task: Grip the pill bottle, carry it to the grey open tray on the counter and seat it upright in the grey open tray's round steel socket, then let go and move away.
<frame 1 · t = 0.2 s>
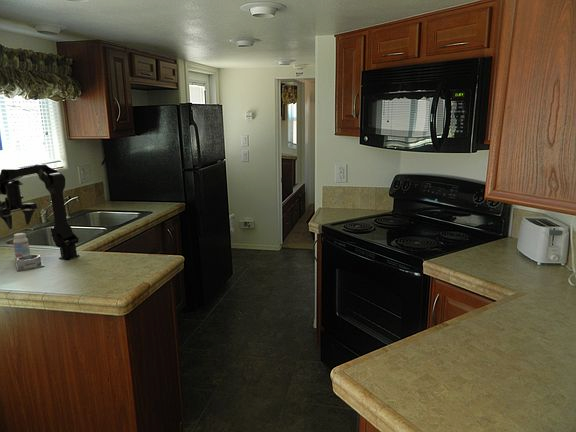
hand: (19, 226, 205), 14 cm above the countertop, tool pointing down, fingers open, 9 cm apart
grey open tray: (29, 265, 191), on the countertop
pill bottle: (23, 256, 205), on the countertop
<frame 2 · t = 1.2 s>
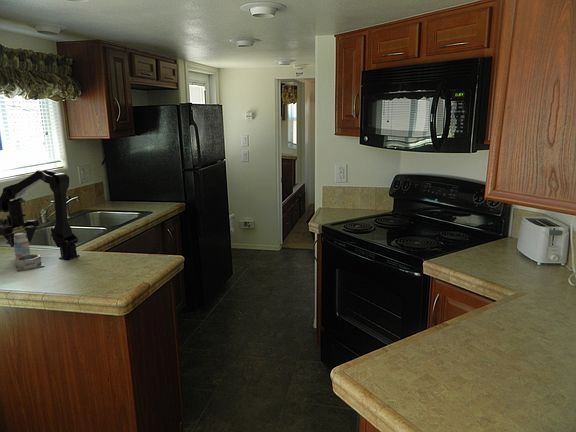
hand: (21, 244, 203), 6 cm above the countertop, tool pointing down, fingers open, 9 cm apart
nothing on the countertop moved.
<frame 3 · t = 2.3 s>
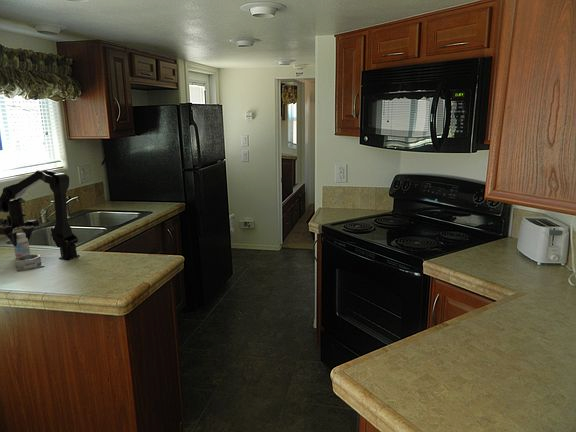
hand: (21, 244, 203), 6 cm above the countertop, tool pointing down, fingers closed on pill bottle, 6 cm apart
pill bottle: (23, 256, 205), on the countertop, touching gripper
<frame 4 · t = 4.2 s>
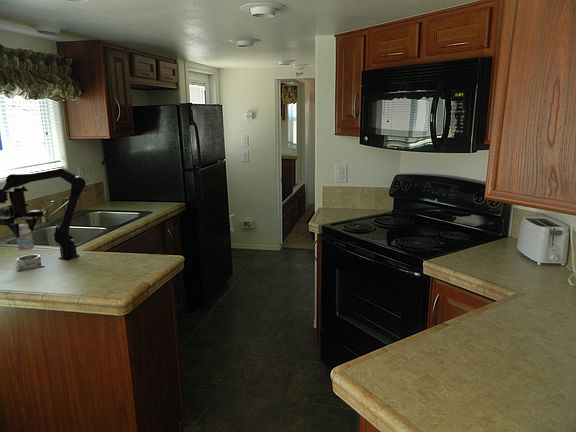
hand: (24, 236, 191), 13 cm above the countertop, tool pointing down, fingers closed on pill bottle, 6 cm apart
pill bottle: (26, 249, 193), point 6 cm above the countertop, touching gripper
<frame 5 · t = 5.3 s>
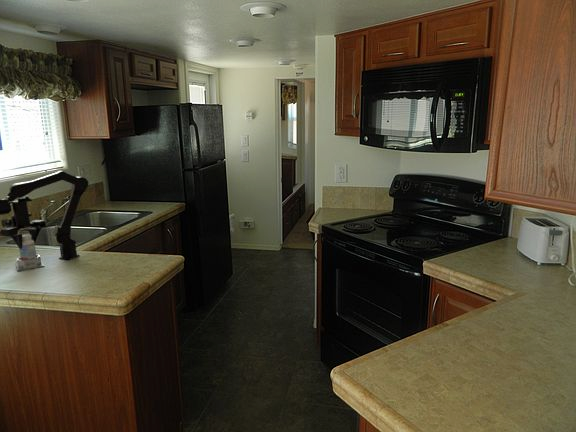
hand: (27, 246, 190), 9 cm above the countertop, tool pointing down, fingers closed on pill bottle, 6 cm apart
pill bottle: (29, 260, 191), point 2 cm above the countertop, touching gripper
when the fingers open (8 cm above the countertop, at t = 6.1 s): pill bottle drops 2 cm, resting on grey open tray.
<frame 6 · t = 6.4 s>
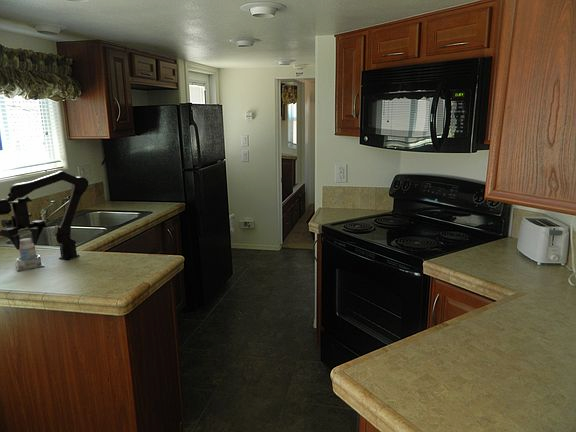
hand: (26, 246, 190), 8 cm above the countertop, tool pointing down, fingers open, 8 cm apart
pill bottle: (30, 263, 191), resting on grey open tray
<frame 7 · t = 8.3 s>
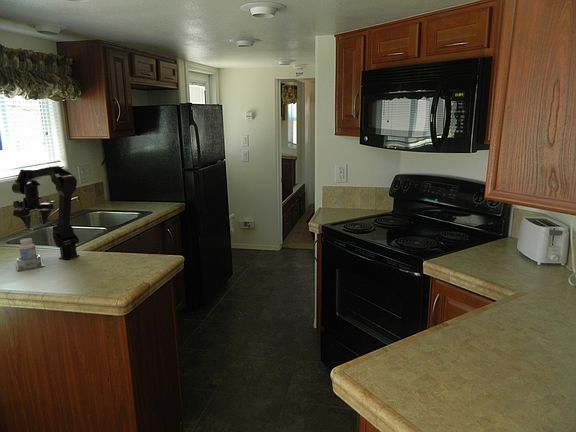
hand: (36, 226, 207), 13 cm above the countertop, tool pointing down, fingers open, 9 cm apart
nothing on the countertop moved.
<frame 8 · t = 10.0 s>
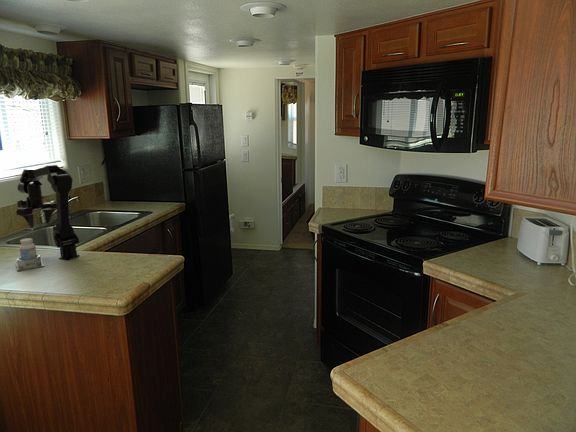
hand: (39, 225, 210), 13 cm above the countertop, tool pointing down, fingers open, 9 cm apart
nothing on the countertop moved.
at the end: pill bottle 0.2 cm from the grey open tray (horizontally); pill bottle tilted 1°; pill bottle resting on grey open tray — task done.
